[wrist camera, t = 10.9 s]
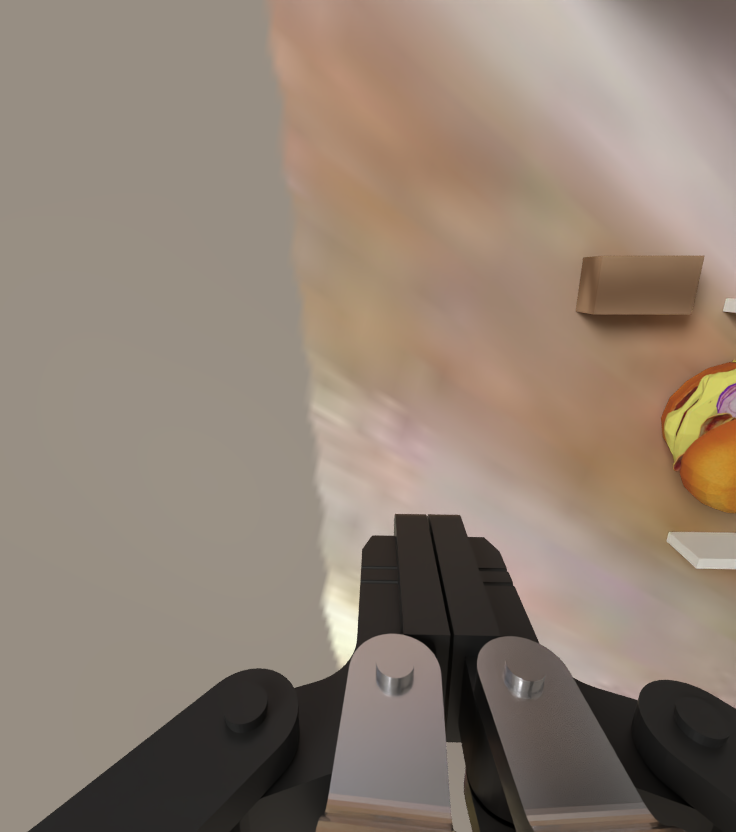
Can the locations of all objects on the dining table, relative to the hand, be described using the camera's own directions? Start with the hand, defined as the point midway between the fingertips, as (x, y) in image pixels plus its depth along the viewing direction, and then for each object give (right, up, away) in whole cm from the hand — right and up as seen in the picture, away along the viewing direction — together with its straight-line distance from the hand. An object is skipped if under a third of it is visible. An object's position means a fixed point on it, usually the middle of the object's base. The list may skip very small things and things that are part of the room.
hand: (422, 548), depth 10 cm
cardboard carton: (+19, +13, +23) cm, 33 cm away
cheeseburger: (+28, +3, +27) cm, 39 cm away
